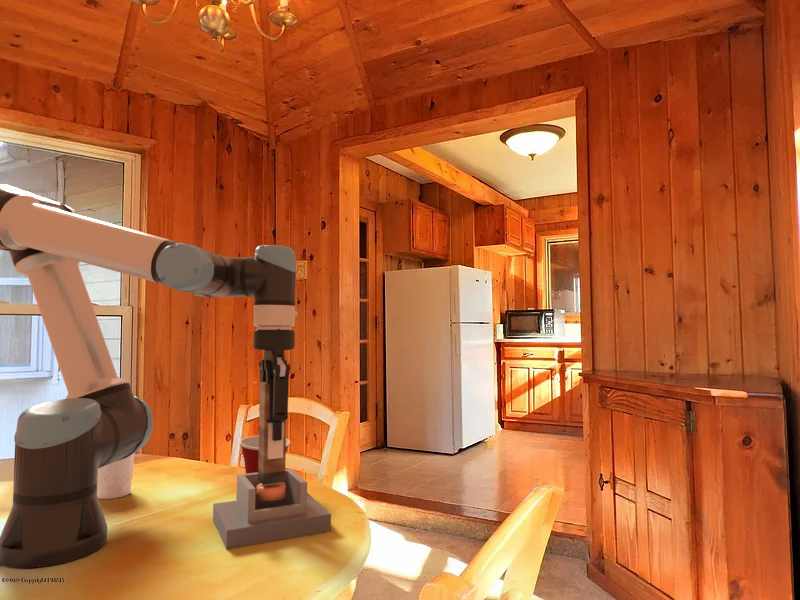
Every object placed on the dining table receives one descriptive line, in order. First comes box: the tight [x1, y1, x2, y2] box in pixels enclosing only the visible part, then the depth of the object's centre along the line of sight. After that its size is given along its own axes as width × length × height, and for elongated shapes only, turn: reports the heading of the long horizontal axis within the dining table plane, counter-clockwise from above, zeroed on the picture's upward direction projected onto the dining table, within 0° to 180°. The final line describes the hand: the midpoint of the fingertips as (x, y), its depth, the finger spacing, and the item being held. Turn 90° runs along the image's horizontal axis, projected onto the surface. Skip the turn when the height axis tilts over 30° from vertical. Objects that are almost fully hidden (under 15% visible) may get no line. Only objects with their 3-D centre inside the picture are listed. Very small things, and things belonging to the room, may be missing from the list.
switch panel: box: [212, 468, 332, 550], centre depth 99 cm, size 18×15×8 cm
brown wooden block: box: [258, 381, 287, 485], centre depth 99 cm, size 4×4×18 cm
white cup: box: [97, 453, 135, 500], centre depth 116 cm, size 8×8×10 cm
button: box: [256, 482, 286, 501], centre depth 99 cm, size 5×5×2 cm
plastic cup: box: [239, 434, 291, 474], centre depth 116 cm, size 11×11×12 cm
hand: (272, 455), depth 99 cm, fingers closed on brown wooden block, 4 cm apart
